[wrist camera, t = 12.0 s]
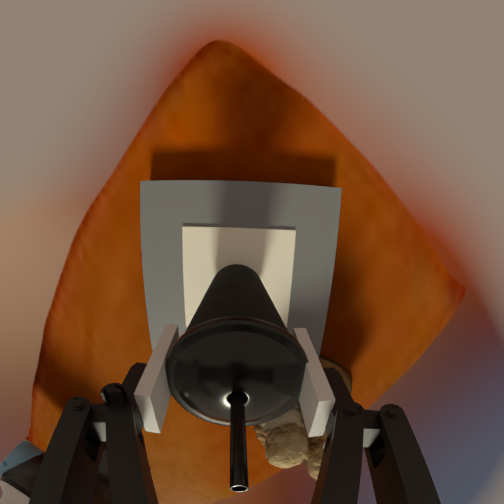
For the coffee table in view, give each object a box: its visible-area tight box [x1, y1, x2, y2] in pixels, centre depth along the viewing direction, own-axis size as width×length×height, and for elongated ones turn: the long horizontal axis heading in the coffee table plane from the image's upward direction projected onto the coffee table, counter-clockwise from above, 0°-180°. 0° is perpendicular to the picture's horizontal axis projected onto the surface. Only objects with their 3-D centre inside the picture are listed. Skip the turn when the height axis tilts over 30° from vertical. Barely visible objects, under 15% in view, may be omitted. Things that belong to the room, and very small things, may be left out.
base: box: [140, 180, 342, 359], centre depth 29 cm, size 20×20×3 cm
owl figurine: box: [254, 356, 352, 480], centre depth 27 cm, size 18×12×17 cm, turn 62°
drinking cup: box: [165, 264, 309, 492], centre depth 16 cm, size 8×8×20 cm
